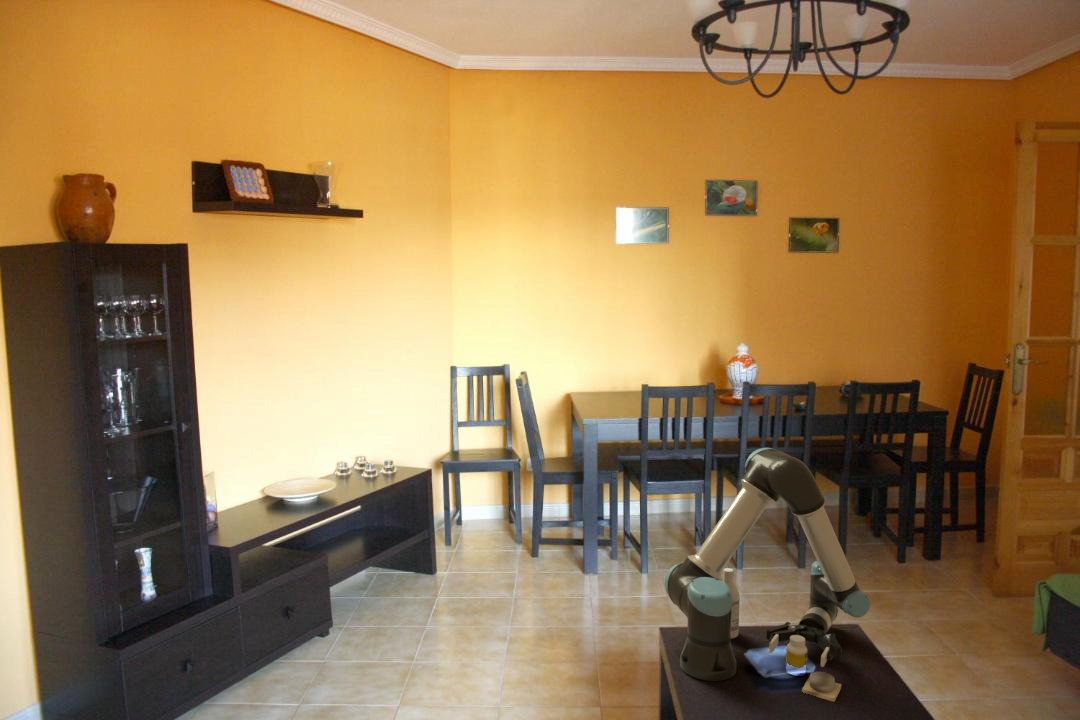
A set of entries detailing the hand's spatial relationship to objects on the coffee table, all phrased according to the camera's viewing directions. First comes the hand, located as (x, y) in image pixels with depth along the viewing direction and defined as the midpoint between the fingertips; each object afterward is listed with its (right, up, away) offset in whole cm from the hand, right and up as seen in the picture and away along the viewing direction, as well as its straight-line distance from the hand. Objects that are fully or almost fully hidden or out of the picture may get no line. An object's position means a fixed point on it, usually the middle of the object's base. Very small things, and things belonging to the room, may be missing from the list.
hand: (795, 655), depth 206 cm
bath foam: (-13, -3, +25) cm, 28 cm away
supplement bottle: (+1, -6, +2) cm, 6 cm away
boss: (+5, -7, -7) cm, 10 cm away
